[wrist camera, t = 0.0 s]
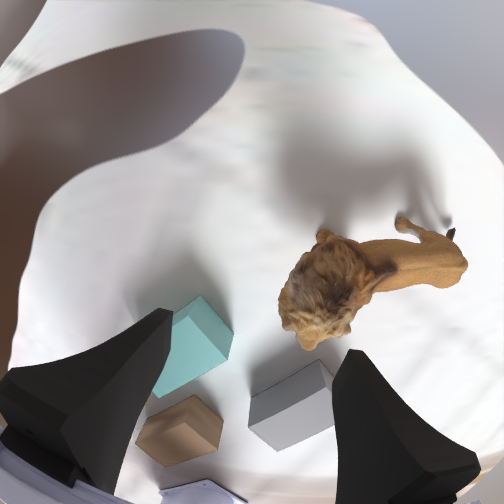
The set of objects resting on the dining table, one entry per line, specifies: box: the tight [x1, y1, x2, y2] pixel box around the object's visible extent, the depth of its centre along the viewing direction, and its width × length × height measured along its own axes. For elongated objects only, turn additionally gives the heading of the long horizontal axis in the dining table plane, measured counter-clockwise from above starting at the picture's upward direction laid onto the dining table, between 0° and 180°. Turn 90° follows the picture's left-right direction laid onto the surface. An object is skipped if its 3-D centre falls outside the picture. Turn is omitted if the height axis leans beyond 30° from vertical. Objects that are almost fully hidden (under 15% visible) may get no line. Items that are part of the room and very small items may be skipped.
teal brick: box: [152, 295, 234, 398], centre depth 22 cm, size 7×4×4 cm, turn 127°
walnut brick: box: [135, 395, 224, 467], centre depth 24 cm, size 7×4×4 cm, turn 128°
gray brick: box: [248, 359, 335, 452], centre depth 22 cm, size 7×4×4 cm, turn 128°
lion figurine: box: [278, 217, 468, 351], centre depth 17 cm, size 15×5×9 cm, turn 106°
